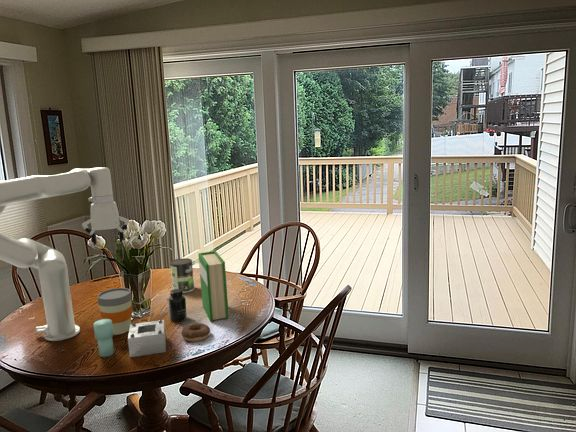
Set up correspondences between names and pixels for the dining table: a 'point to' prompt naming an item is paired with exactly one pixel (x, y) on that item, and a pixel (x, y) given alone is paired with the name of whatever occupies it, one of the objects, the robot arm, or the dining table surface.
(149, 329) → the housing
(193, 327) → the donut
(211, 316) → the hardback book
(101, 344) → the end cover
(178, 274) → the coffee can
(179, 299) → the supplement bottle
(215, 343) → the dining table surface
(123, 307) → the reusable coffee cup
